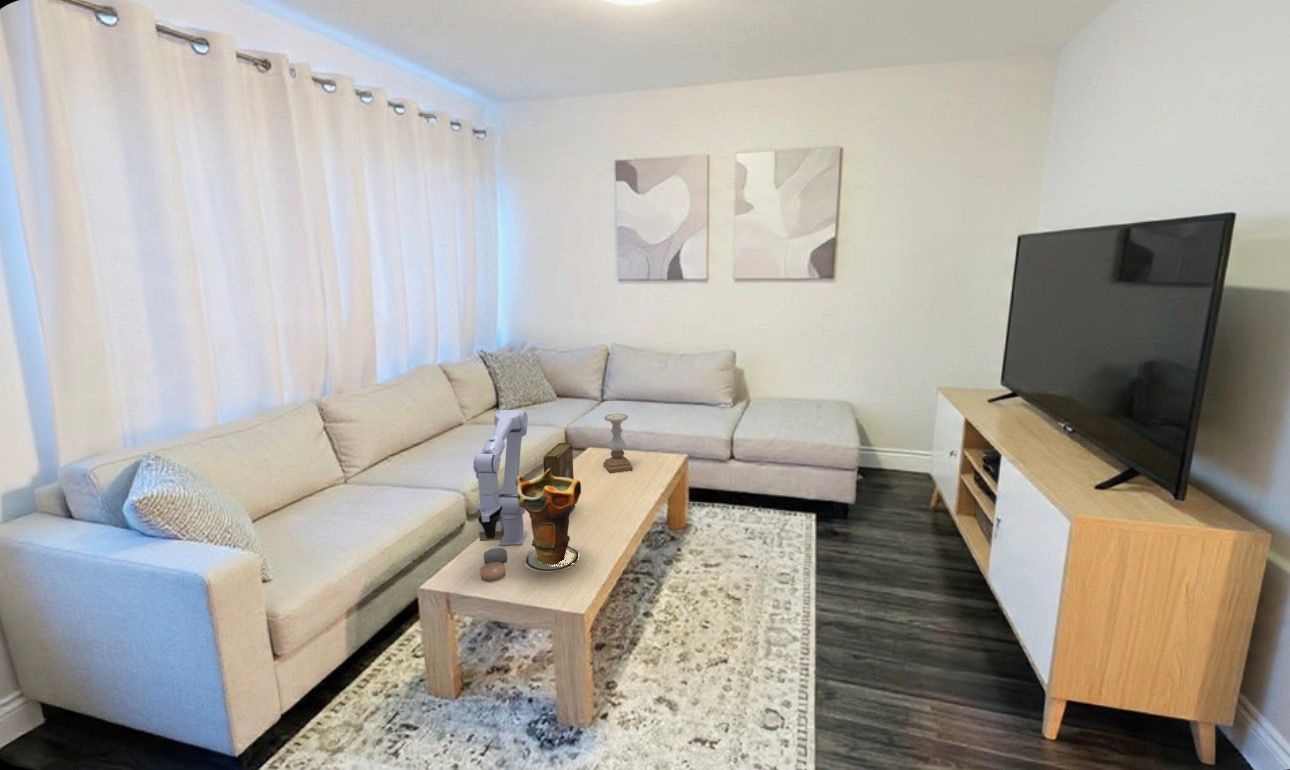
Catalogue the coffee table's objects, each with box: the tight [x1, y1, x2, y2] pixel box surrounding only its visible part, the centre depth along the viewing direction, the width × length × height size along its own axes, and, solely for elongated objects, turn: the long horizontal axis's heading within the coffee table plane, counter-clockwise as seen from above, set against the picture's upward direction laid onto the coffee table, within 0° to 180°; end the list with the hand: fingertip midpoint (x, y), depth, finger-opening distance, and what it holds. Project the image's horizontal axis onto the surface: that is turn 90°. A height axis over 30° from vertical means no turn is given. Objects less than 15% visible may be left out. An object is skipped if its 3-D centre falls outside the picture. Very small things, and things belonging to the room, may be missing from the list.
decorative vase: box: [515, 468, 582, 574], centre depth 187 cm, size 21×23×28 cm
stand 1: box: [483, 547, 508, 565], centre depth 188 cm, size 7×7×2 cm
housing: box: [477, 516, 504, 542], centre depth 183 cm, size 4×6×6 cm
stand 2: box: [480, 562, 507, 583], centre depth 179 cm, size 7×7×2 cm
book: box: [543, 442, 576, 513], centre depth 219 cm, size 16×6×25 cm, turn 168°
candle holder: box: [603, 413, 633, 474], centre depth 267 cm, size 11×11×24 cm
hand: (492, 534), depth 183 cm, fingers closed on housing, 4 cm apart
